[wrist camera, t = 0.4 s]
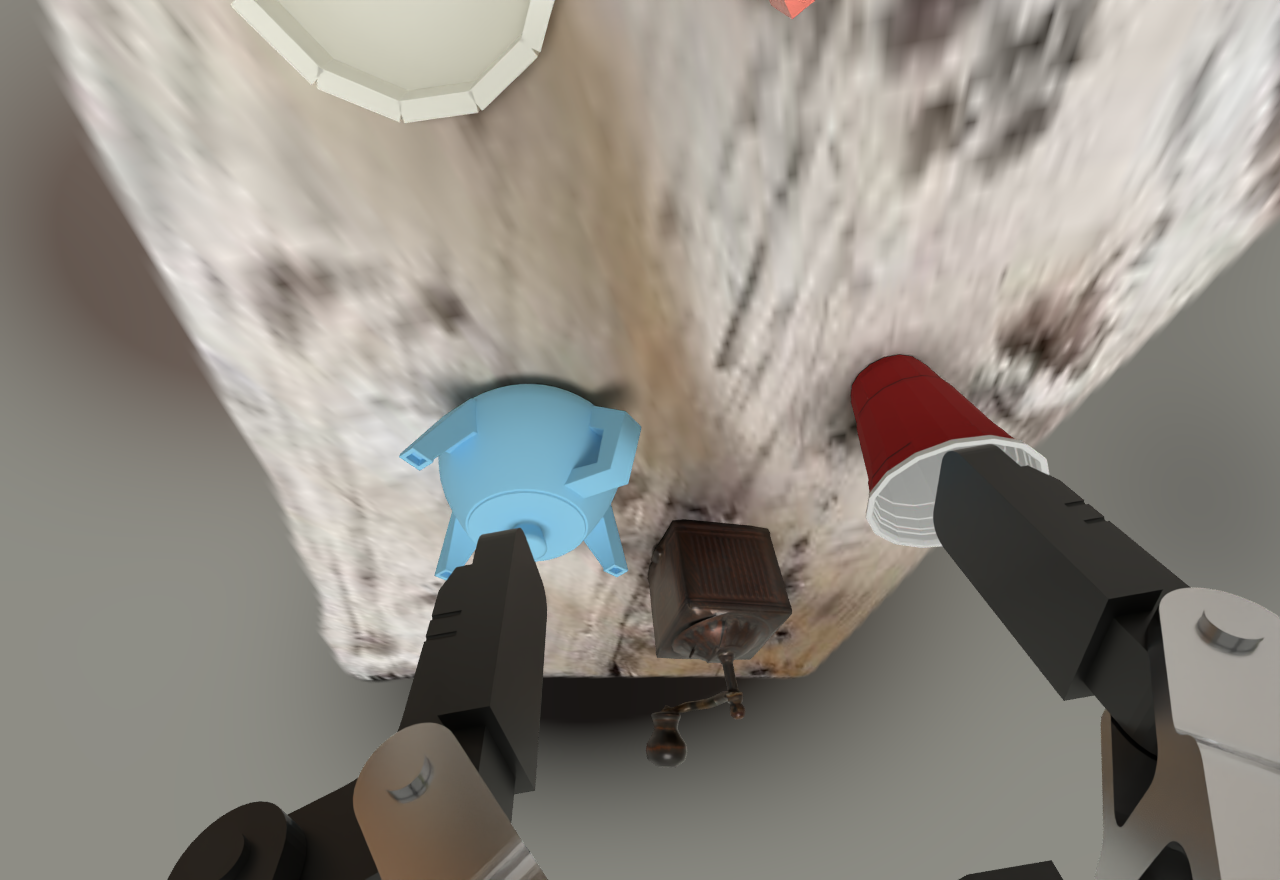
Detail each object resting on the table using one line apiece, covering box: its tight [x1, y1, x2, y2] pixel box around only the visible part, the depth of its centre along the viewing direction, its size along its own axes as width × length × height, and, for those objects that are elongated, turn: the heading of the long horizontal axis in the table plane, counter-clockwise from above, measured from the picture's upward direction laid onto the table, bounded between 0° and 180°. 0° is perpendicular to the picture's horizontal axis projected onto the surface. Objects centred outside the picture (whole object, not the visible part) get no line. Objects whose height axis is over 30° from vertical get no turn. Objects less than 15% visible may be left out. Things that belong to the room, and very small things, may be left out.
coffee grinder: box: [646, 520, 792, 767], centre depth 54 cm, size 16×11×18 cm
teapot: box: [399, 384, 641, 580], centre depth 41 cm, size 15×15×11 cm
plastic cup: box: [851, 355, 1049, 548], centre depth 39 cm, size 11×11×12 cm
